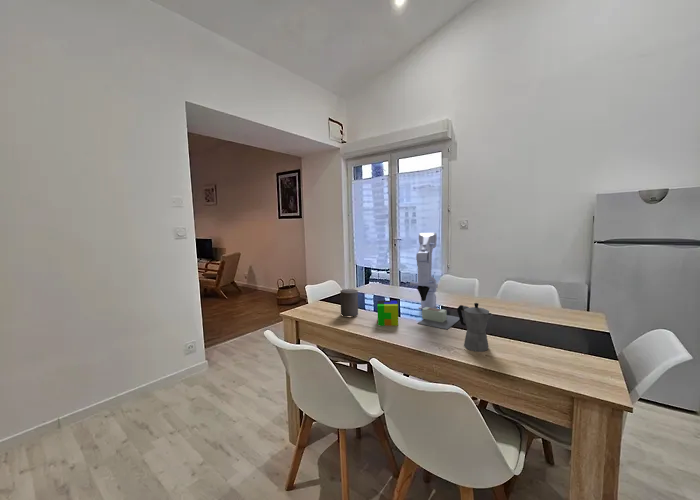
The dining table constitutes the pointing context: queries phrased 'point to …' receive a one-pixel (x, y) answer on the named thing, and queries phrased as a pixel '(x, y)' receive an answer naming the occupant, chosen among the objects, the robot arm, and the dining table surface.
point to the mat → (443, 325)
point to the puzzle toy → (387, 313)
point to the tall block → (434, 314)
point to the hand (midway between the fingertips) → (423, 300)
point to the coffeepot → (475, 327)
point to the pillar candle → (349, 302)
